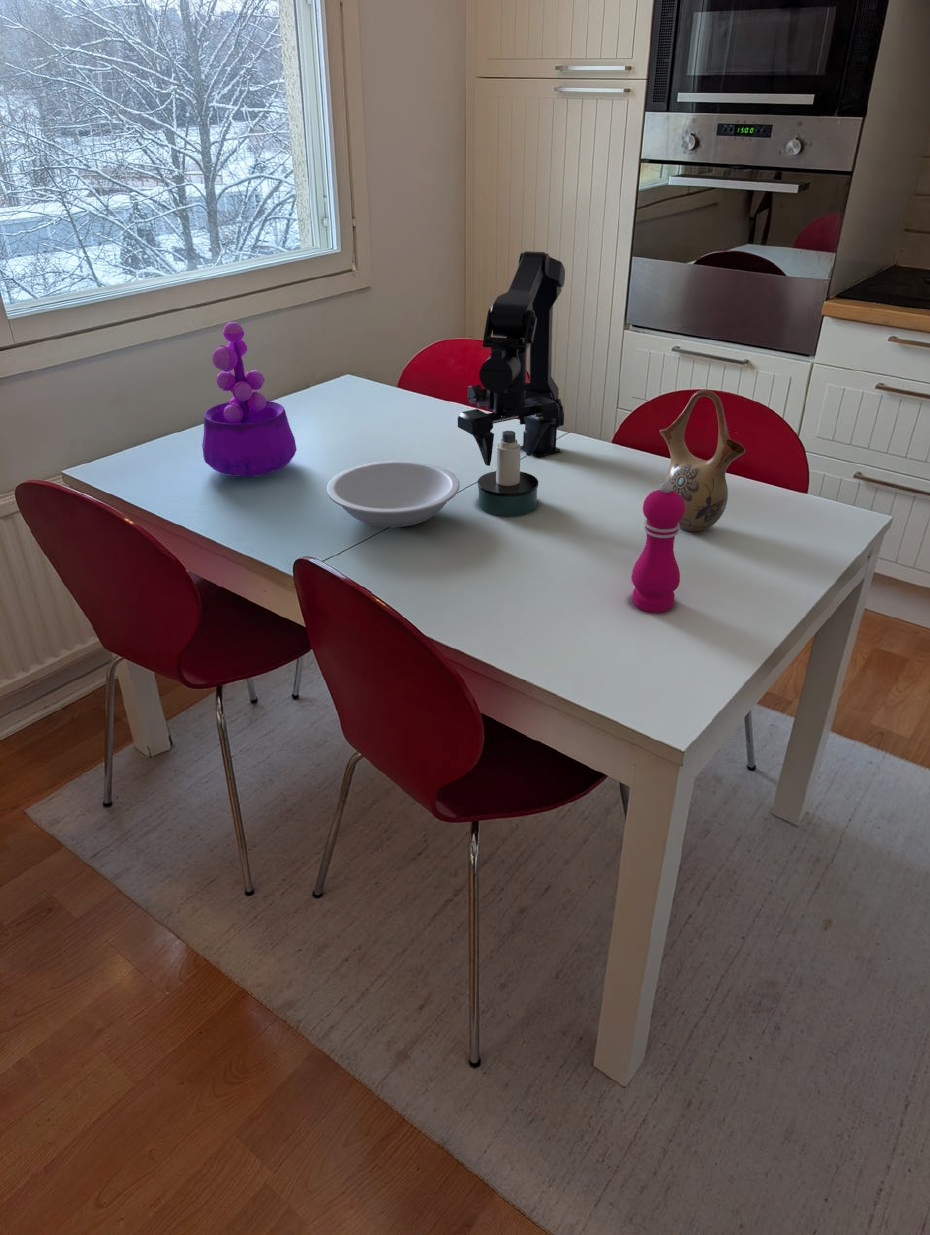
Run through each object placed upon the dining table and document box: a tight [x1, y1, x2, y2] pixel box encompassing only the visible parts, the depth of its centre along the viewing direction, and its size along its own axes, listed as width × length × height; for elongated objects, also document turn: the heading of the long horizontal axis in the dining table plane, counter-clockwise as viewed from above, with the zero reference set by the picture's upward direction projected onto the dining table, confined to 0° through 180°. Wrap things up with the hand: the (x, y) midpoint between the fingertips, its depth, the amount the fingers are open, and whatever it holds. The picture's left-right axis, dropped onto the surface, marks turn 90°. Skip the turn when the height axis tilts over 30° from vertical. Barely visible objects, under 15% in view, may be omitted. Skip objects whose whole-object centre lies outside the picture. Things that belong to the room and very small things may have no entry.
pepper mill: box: [630, 481, 685, 613], centre depth 132 cm, size 7×7×20 cm
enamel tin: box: [477, 470, 539, 517], centre depth 168 cm, size 11×11×5 cm
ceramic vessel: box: [658, 389, 747, 533], centre depth 154 cm, size 16×9×25 cm, turn 45°
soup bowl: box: [326, 460, 461, 528], centre depth 163 cm, size 24×24×7 cm
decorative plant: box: [201, 321, 298, 477], centre depth 178 cm, size 19×18×30 cm
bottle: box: [495, 430, 522, 486], centre depth 165 cm, size 4×4×10 cm
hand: (508, 460), depth 165 cm, fingers open, 9 cm apart
